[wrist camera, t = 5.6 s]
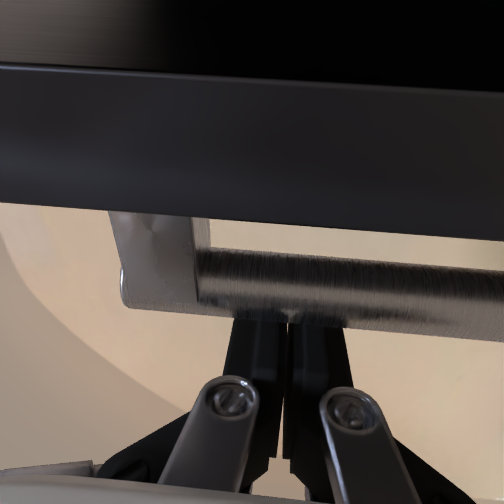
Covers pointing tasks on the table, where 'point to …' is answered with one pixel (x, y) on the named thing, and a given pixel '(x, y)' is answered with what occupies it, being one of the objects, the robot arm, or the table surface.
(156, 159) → the oven door
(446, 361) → the table surface
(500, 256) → the table surface
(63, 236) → the table surface
